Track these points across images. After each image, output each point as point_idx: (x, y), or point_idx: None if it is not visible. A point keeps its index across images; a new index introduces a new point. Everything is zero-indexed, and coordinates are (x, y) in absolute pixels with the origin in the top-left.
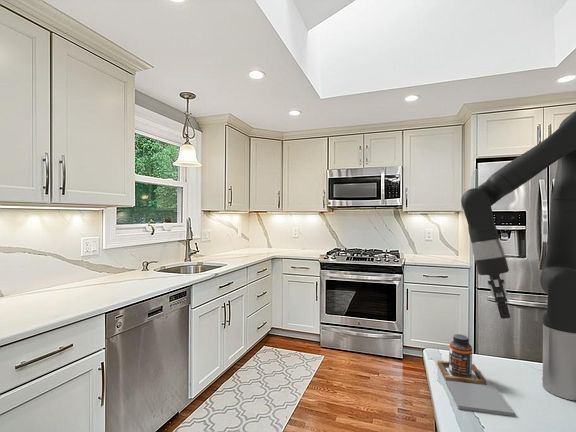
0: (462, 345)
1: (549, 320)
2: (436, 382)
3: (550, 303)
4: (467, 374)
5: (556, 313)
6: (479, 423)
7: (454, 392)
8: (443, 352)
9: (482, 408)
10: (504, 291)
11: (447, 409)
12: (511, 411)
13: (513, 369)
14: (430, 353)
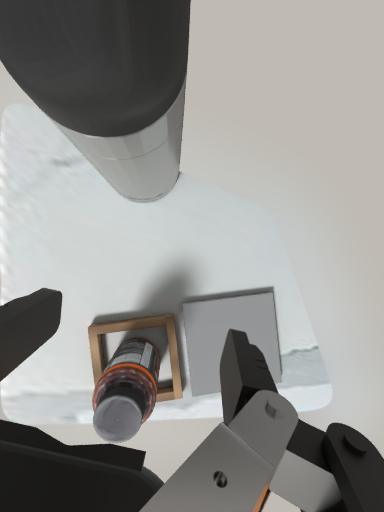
0: (145, 403)
1: (141, 112)
2: (194, 410)
3: (155, 17)
4: (156, 352)
5: (176, 51)
6: (309, 351)
7: None
8: (16, 385)
9: (277, 342)
10: (258, 503)
11: (286, 396)
12: (270, 296)
13: (64, 235)
14: (36, 418)
